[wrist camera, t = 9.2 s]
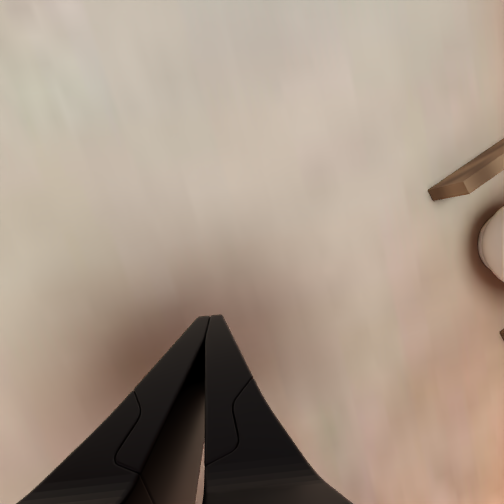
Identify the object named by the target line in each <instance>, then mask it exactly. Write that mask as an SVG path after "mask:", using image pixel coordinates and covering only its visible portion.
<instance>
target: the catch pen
mask: <svg viewBox="0 0 504 504" xmlns="http://www.w3.org/2000/svg"><path fill="white" fill-rule="evenodd" d="M502 170H504V139H502V140H501V141H499V142H498V143H496V144H495V145H493V146H492V147H490V148H489V149H488V150H486V151H485V152H483V153H482V154H480V155H479V156H477V157H476V158H474V159H473V160H471V161H470V162H468V163H467V164H465V165H464V166H463V167H461V168H460V169H458V170H457V171H455V172H454V173H452V174H451V175H449V176H448V177H446V178H445V179H443V180H442V181H441V182H439V183H438V184H436V185H435V186H433V187H432V188H430V189H429V190H428V191H429V193H430V195H431V197H432V199H433V201H435V200H440V199H445V198H450V197H456V196H461V195H466V194H470V193H471V192H473V191H474V190H475V189H477V188H478V187H480V186H481V185H483V184H484V183H485V182H487V181H488V180H490V179H491V178H492V177H494V176H495V175H497V174H498V173H500V172H501V171H502ZM500 334H501V335H502V337H503V339H504V329H503V330H502V331H501V332H500Z"/></svg>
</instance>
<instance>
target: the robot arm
mask: <svg viewBox="0 0 504 504" xmlns="http://www.w3.org/2000/svg"><path fill="white" fill-rule="evenodd" d="M204 438H205V458H204V466H205V474H204V496H203V502H202V504H353V503H352V502H350V501H349V500H348V499H347V498H345V497H344V496H343V495H341V494H340V493H339V492H338V491H336V490H335V489H334V488H333V487H331V486H330V485H329V484H328V483H326V482H325V481H324V480H323V479H322V478H321V477H320V476H319V475H318V474H317V473H316V472H315V470H314V469H313V468H312V467H311V466H310V464H309V463H308V462H307V460H306V459H305V458H304V456H303V455H302V453H301V452H300V451H299V449H298V448H297V446H296V445H295V443H294V442H293V441H292V439H291V438H290V436H289V435H288V433H287V432H286V431H285V429H284V428H283V426H282V425H281V423H280V422H279V421H278V419H277V418H276V416H275V415H274V413H273V412H272V410H271V408H270V407H269V405H268V404H267V402H266V400H265V399H264V397H263V395H262V393H261V391H260V390H259V388H258V386H257V384H256V382H255V380H254V379H253V376H252V374H251V372H250V370H249V368H248V366H247V364H246V362H245V360H244V358H243V356H242V354H241V352H240V350H239V348H238V346H237V344H236V342H235V340H234V338H233V336H232V334H231V332H230V330H229V327H228V325H227V323H226V321H225V319H224V317H223V316H222V315H212V316H211V317H210V316H201V317H198V318H197V319H196V320H195V321H194V322H193V323H192V324H191V326H190V327H189V328H188V329H187V330H186V331H185V332H184V333H183V335H182V336H181V337H180V338H179V339H178V340H177V341H176V342H175V344H174V345H173V346H172V347H171V348H170V349H169V350H168V351H167V353H166V354H165V355H164V356H163V357H162V358H161V359H160V360H159V361H158V363H157V364H156V365H155V366H154V367H153V368H152V369H151V370H150V372H149V373H148V374H147V375H146V376H145V377H144V378H143V379H142V381H141V382H140V383H139V384H138V385H137V386H136V387H135V388H134V391H132V392H131V393H130V394H129V395H128V396H127V397H126V398H125V400H124V401H123V402H122V403H121V404H120V405H119V406H118V407H117V408H116V409H115V410H114V411H113V413H112V414H111V415H110V416H109V417H108V418H107V419H106V420H105V421H104V422H103V423H102V424H101V425H100V426H99V427H98V428H97V429H96V430H95V431H94V432H93V433H92V434H91V435H90V436H89V437H88V438H87V439H86V440H85V441H84V442H83V443H82V444H80V445H79V446H78V447H77V448H76V449H75V450H74V451H73V452H72V453H71V454H70V455H69V456H68V457H67V458H66V459H65V460H64V461H63V462H62V463H61V464H60V465H59V466H58V467H57V468H56V469H55V470H53V471H52V472H51V473H50V474H49V475H48V476H47V477H46V478H45V479H44V480H43V481H42V482H41V483H40V484H39V485H38V486H37V487H36V488H35V489H33V490H32V491H31V492H30V493H29V494H28V495H27V496H25V497H24V498H23V499H22V500H20V501H19V502H18V503H16V504H195V499H196V492H197V485H198V479H199V472H200V465H201V458H202V452H203V445H204Z"/></svg>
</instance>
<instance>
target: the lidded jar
mask: <svg viewBox="0 0 504 504" xmlns="http://www.w3.org/2000/svg"><path fill="white" fill-rule="evenodd" d="M478 251H479V255H480V258H481V260H482V262H483V263H484V264H485V266H486V267H488V268H489V269H490V270H491V271H492V272H493V273H494V274H495V275H496V277H497V278H499V279H500V280H501V281H502V282H504V206H503V207H501V208H500V209H499V210H498V211H497V212H496V213H495V214H494V215H493V217H492V218H490V219H489V220H488V221H487V222H486V223H485V224H484V225H483V227H482V229H481V231H480V234H479V238H478Z"/></svg>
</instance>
